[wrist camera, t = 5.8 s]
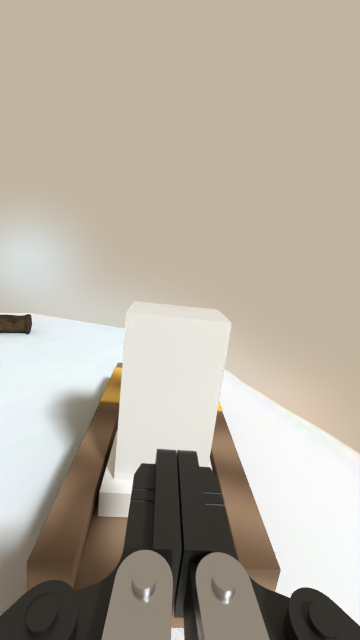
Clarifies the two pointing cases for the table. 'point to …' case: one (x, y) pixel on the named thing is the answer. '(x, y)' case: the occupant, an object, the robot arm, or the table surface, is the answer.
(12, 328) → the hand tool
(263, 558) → the switch housing
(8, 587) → the table surface
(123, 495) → the switch tab
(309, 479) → the table surface
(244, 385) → the table surface
